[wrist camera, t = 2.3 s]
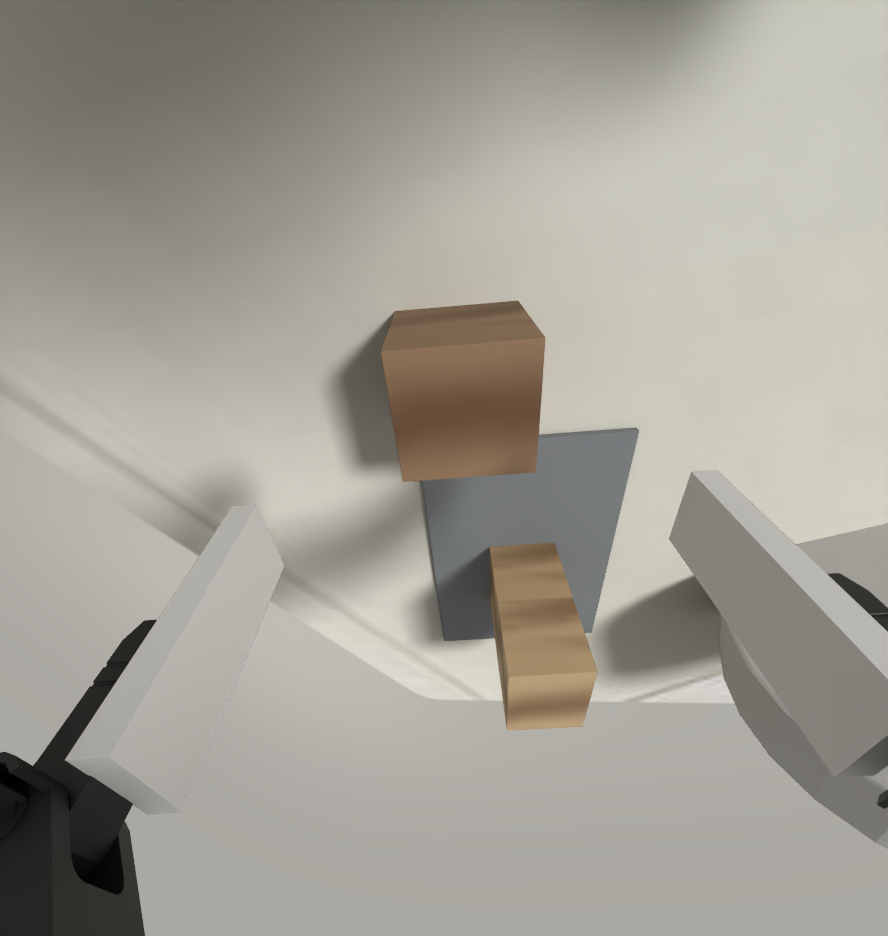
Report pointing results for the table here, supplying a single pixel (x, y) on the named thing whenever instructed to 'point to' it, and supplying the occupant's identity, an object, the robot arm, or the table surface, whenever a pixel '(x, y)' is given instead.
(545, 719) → the oak block upper
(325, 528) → the table surface
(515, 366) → the walnut cube
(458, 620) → the slate mat
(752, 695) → the alarm clock
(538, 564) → the oak block lower
